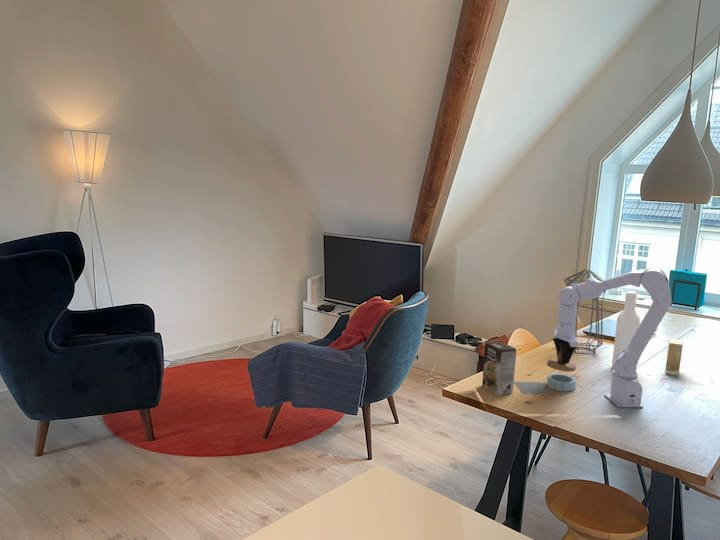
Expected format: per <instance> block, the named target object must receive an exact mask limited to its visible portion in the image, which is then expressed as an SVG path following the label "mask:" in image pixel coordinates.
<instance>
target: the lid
mask: <svg viewBox="0 0 720 540" xmlns="http://www.w3.org/2000/svg"><path fill="white" fill-rule="evenodd" d="M546 364H547V367H549V368H551V369H554V370H557V371H559V372H561V371H562V372H569V373H570V372H572V373H573V372H575V371H576V368H577V366H576V364H575V363H574V362H571V361H569V363H562V360H561V351H559V353H558V358H550V359H547V363H546Z"/></svg>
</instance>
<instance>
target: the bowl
mask: <svg viewBox="0 0 720 540" xmlns="http://www.w3.org/2000/svg"><path fill="white" fill-rule="evenodd" d="M546 386H547V387H548V388H550V389H553V390H557V391H560V392H572V391H575V390H576V387H577V379H576V378H575V377H573V376H572V375H568V374H565V373H564V374H563V373H553V372H552V373H550V374H548V375H547V377H546Z"/></svg>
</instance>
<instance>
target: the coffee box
mask: <svg viewBox="0 0 720 540" xmlns="http://www.w3.org/2000/svg"><path fill="white" fill-rule="evenodd" d="M516 359H517V348H515V347H513V346H511V345H508V344H507V343H505V342H503V341H501V340H497V341H486V342H484V355H483V367H482V368H483V372H482V384H481V385H482V387H483V388H484V389H486V390H487V391H490V392H492V393H493V394H494V395H496V396H503V395H505V396H506V395H511V394H513V393H514V385H515V384H514V382H515V380H514V379H515V372H516V371H515V370H516V369H515V368H516Z"/></svg>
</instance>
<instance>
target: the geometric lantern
mask: <svg viewBox="0 0 720 540" xmlns="http://www.w3.org/2000/svg"><path fill="white" fill-rule="evenodd" d="M591 275H592V276H591ZM585 277H586V278H585ZM592 277H593V278H594V279H596V280H598V281H604V280H605V279H604V278H602V277H600V276H599V275H597V274H596V273H595V272H594V271H592V270H591V269H583V270H581V271H579V272H576V273H574V274H572V275H570V276H568V277H566V278H564V279H563V281H564V283H565V285H566V286H565V287H567V286H571V287H572V284H580V283H583V282H586V280H587V279H590V278H591V280H593V279H592ZM584 278H585V280H583V279H584ZM606 292H607V290H605V291H603V293H602V301H600V300H599V298H600V296H599V297H595V298H591V300H592V303H585V305H587V306H589V305H591V315H590V327H589V335H577V334H578V332H577V331H578V311H579V310H578V309H579V305H584V303H582V302H581V301H577V308H576V309H577V315H576V326H575V337H576V338H588V339H587V341H586V342H578V343H577V348H576V349H575V350H574V352H573V353H575V354H578V355H579V354H583V355H584V354H585V355H596V351H597V349H598V348H599V347H601V346H602V345H603V310H604V309H603V308H604V307H603V304H604V297H605V293H606ZM580 302H581V303H580ZM594 306H595V336H592V327H593V318H594V317H593V316H594ZM591 338H593V340H592V341H590V340H591ZM595 340H597V344H592V343H594V341H595ZM591 347H592V348H591ZM582 349H583V350H585V351H586V350H588V351H591V353H589V352H579V350H582Z"/></svg>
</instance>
